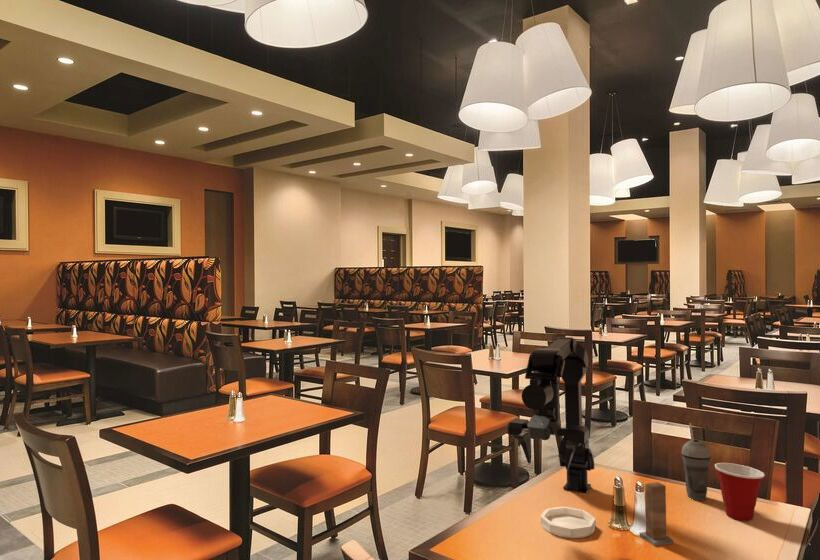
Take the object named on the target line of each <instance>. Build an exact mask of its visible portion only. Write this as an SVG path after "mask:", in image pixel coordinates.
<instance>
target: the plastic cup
mask: <svg viewBox="0 0 820 560" xmlns="http://www.w3.org/2000/svg"><path fill="white" fill-rule="evenodd" d="M714 467H715V470H716V473H717V477H718V478H717V479H718V480H719V486H720V492H721V498H722V502H723V506H724V511H725V514H726V516H727V517H729V518H730V519H732V520H736V521H740V522H741V521H743V522H748V521H752V520H753V518H754V515H755V510H756V505H757V502H758V501H757V500H758V496H759V489H760V486H761V483H762V480H763V479H764V477H765V476H766V475H765V472H763V471H761V470H759V469H756V468H754V467H751V466H747V465H742V464H738V463H732V462H731V463H729V462H717V463H715V464H714Z"/></svg>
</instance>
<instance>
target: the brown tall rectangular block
mask: <svg viewBox="0 0 820 560" xmlns="http://www.w3.org/2000/svg"><path fill="white" fill-rule="evenodd" d="M666 487H667V486H666V485H664V484H662V483H661V482H658V481H655V482H648V483H645V484H644V498H645V499H644V501H645V503H644V505H645V508H644V509H645V512H644V513H645V531H643V532H639V537H640V538H642V539H643V540H644V541H646V542H648V543H649V544H650V545H652V546H653V547H657V546H664V545H669V544H674V539H673V538H672V537H670V536H668V535H667V509H666V508H667V499H666V498H667V497H666V496H667V493H666V492H667V489H666Z"/></svg>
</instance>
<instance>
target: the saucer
mask: <svg viewBox="0 0 820 560" xmlns="http://www.w3.org/2000/svg"><path fill="white" fill-rule="evenodd" d="M540 524H541V526H542V528H543V529H544V530H545V531H546V532H547V533H549V534H552V535H555V536H557V537H559V538H560V537H561V538H566V539H567V538H568V539H583V538H588V537H590V536H592V535H593V534H594V533H595V531H596V517H594V516H593V515H592V514H590V513H589V512H588V511H586V510H583V509H579V508H574V507H570V506H557V507H550V508H546V509H545V510H544V511H543V512H542V514H541V515H540Z"/></svg>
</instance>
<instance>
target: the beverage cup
mask: <svg viewBox="0 0 820 560" xmlns="http://www.w3.org/2000/svg"><path fill="white" fill-rule="evenodd" d="M689 429H690V430H689V431H690V436H691V439H689V440H688V441H686V442H685V443H684V444H683V445H682V448H681V453H680V455H681V460H682V462H683V463H682V464H683V470H684V472H683V473H684V479H685V480H684V481H685V482H684V483H685V488H686V489H685V490H686V494H687V495H686V496H688V497H689V498H691V499H690V500H692V499H693V501H696V500H699V501H698V502H703V500H704V501H706V500H707V495H708V483H709V482H708V480H709V469H710V467H709V466H710V463H711V458H712V456H711V451H710V449H709V447H708V446H707V445H706V444H705V443H704V442H703V441H700V440H699V439H694V433H693V426H692V423H689ZM688 497H687V498H688ZM689 498H688V499H689ZM705 499H706V500H705Z"/></svg>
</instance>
